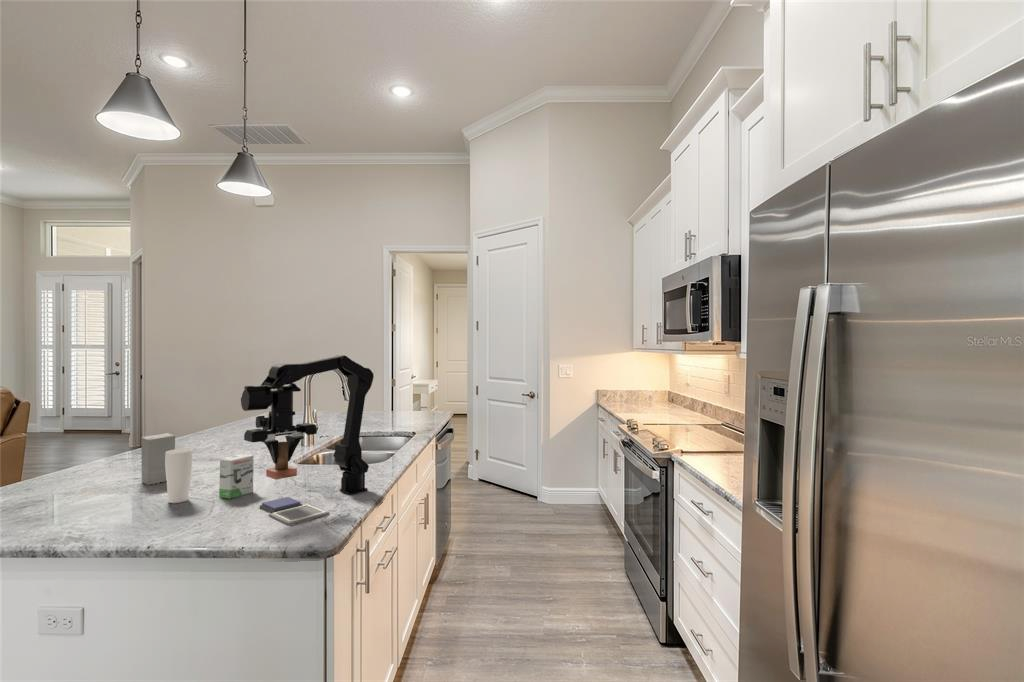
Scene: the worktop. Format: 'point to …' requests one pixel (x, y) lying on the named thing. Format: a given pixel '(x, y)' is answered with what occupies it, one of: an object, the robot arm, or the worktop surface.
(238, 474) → the ink box
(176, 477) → the drinking glass
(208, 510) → the worktop surface
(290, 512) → the marked board
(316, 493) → the worktop surface
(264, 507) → the ink pad
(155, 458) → the skincare box
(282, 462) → the stamp
